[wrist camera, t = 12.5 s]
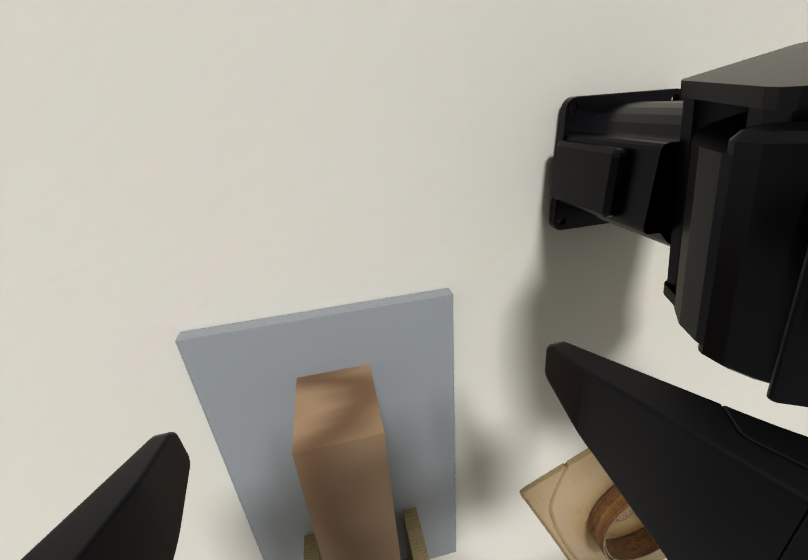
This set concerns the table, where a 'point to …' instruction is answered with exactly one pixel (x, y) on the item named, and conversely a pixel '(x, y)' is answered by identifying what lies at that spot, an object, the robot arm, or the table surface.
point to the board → (588, 513)
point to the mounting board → (318, 353)
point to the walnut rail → (344, 465)
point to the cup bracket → (413, 534)
